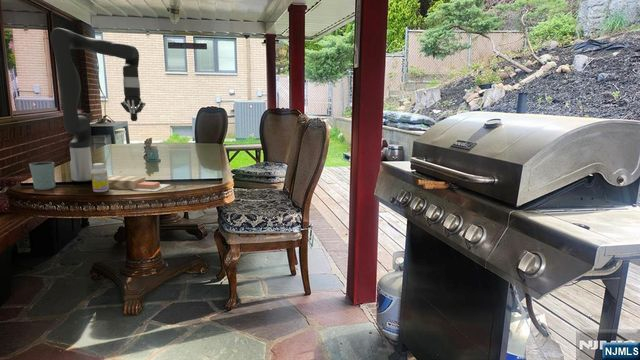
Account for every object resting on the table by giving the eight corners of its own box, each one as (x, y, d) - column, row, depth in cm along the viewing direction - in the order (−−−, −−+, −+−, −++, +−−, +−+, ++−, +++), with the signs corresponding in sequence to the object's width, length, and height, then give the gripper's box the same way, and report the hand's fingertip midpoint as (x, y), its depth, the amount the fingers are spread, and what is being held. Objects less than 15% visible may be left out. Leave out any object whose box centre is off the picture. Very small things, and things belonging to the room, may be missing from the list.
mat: (132, 190, 200) (132, 189, 200) (148, 184, 213) (148, 183, 213) (155, 191, 198) (155, 190, 198) (170, 185, 211) (170, 184, 211)
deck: (96, 187, 205) (95, 179, 204) (109, 182, 215) (108, 175, 214) (133, 189, 202) (133, 181, 201) (145, 184, 211) (145, 177, 211)
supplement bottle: (96, 189, 201) (94, 162, 198) (111, 189, 202) (108, 162, 199) (90, 192, 195) (87, 165, 192) (105, 192, 195) (102, 165, 192)
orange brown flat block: (136, 188, 203) (135, 184, 203) (143, 185, 209) (142, 181, 208) (153, 188, 202) (153, 184, 201) (159, 186, 207) (159, 182, 207)
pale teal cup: (38, 191, 196) (35, 165, 193) (28, 188, 201) (24, 163, 199) (61, 187, 204) (58, 162, 202) (50, 184, 210) (47, 160, 207)
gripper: (115, 86, 210) (118, 121, 214) (139, 86, 208) (141, 121, 211) (124, 86, 217) (127, 120, 221) (147, 86, 215) (150, 120, 219)
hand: (134, 121), depth 216 cm, fingers closed
